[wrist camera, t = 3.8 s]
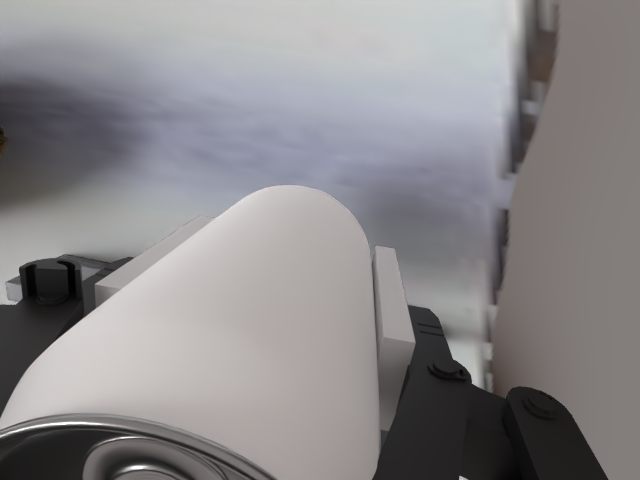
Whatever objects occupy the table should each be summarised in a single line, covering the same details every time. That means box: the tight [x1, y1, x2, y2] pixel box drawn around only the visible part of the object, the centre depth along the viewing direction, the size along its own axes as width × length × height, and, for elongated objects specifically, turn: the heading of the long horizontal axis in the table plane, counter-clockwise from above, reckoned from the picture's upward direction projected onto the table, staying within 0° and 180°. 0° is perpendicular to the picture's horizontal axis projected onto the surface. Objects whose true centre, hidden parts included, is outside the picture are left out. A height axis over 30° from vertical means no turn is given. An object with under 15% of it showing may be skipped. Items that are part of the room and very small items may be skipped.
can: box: [0, 185, 382, 480], centre depth 11 cm, size 6×6×12 cm
